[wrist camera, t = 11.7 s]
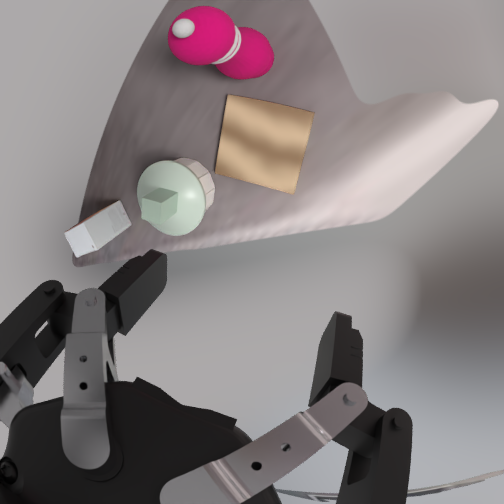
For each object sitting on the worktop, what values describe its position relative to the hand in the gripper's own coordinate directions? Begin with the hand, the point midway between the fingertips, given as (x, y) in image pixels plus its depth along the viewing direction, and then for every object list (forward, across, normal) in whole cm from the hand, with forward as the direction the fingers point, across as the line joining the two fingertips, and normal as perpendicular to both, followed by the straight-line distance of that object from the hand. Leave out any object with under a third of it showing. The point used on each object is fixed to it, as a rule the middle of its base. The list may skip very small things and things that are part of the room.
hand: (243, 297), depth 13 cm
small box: (+30, +34, +19) cm, 49 cm away
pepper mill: (+30, +11, -13) cm, 35 cm away
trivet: (+30, +7, -1) cm, 31 cm away
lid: (+25, +18, +9) cm, 32 cm away
